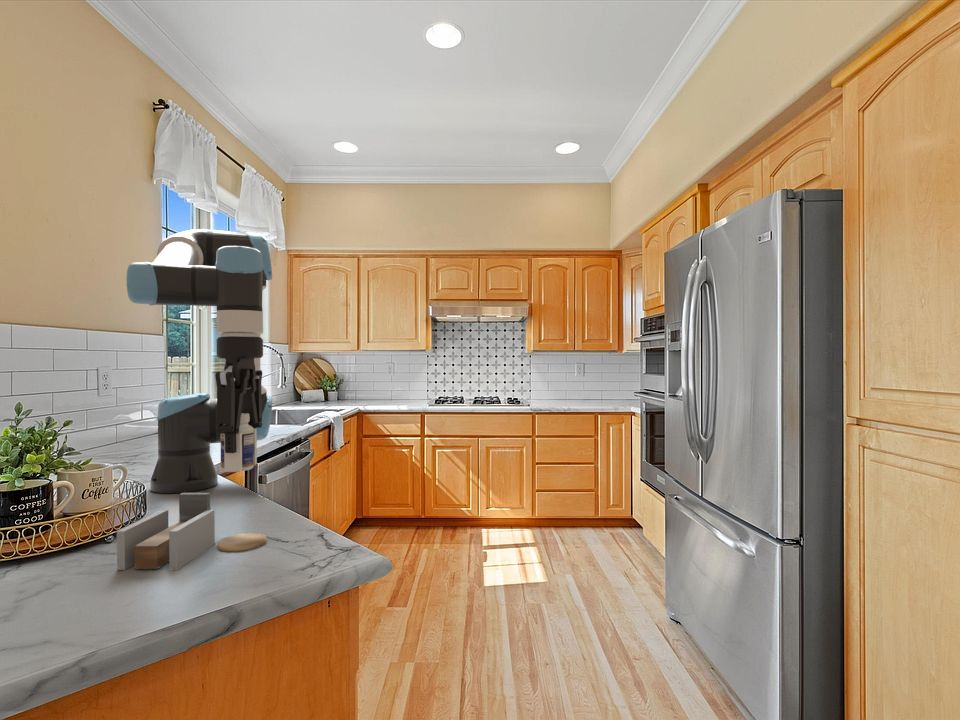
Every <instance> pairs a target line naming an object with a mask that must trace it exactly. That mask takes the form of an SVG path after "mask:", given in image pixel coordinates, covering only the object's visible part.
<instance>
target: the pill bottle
mask: <svg viewBox="0 0 960 720" xmlns="http://www.w3.org/2000/svg"><path fill="white" fill-rule="evenodd" d="M249 420H250V417H249V414H248V413H241V418H240V427H239V433H242V471H241V472H245V471H250V470H252V469H254V467H255V465H254V429H253V427H252V426H250V425H248V422H249ZM220 437H221V443H220V470H221V471H222V472H224V434H220Z"/></svg>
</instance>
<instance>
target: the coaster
mask: <svg viewBox="0 0 960 720" xmlns="http://www.w3.org/2000/svg"><path fill="white" fill-rule="evenodd" d="M266 542H267V536H266V535H265V534H263V533H257V532H256V533H255V532H247V533H245V532H244V533H238V534H232V535H229V536H225V537H223V538H221V539H219V540H218V541H217V542H216V548H217V550H218V551H222V552H230V553H231V552H232V553H233V552H234V553H235V552H236V553H237V552H243V551H244V552H245V551H250V550H254V549H257V548H260V547H262V546H264V545H265V544H266Z"/></svg>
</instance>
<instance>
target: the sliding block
mask: <svg viewBox="0 0 960 720" xmlns="http://www.w3.org/2000/svg"><path fill="white" fill-rule="evenodd" d="M178 495H179V496H178V504H179V505H178V506H179V507H178V508H179V509H178V510H179V515H178V516H179V517H178V520H179V521H178V522H177V523H175V524H173V525H171V526H169V528H167V529H165V530H163V531H161V532H160V533H158V534H156V535H154V536H152V537H150V538H148V539H147V540H145V541H143V542H141V543H139V544H137V545H136V546H134V547H135V564H134V569H137V570H139V569H141V570H142V569H144V570H145V569H146V570H147V569H150V570H151V569H152V570H153V569H159V568H161V567H162V566H163V565H165V564H166V563H168V562H169V531H171V530H172V529H174V528H176V527H178V526H180V525H181V524H183V523H185V522H187V521H189V520H190V519H192V518H194V517H196V516H198V515H199V514H201V513H203V512H205V511H207V510H211V492H181V493H180V494H179V493H178Z"/></svg>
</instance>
